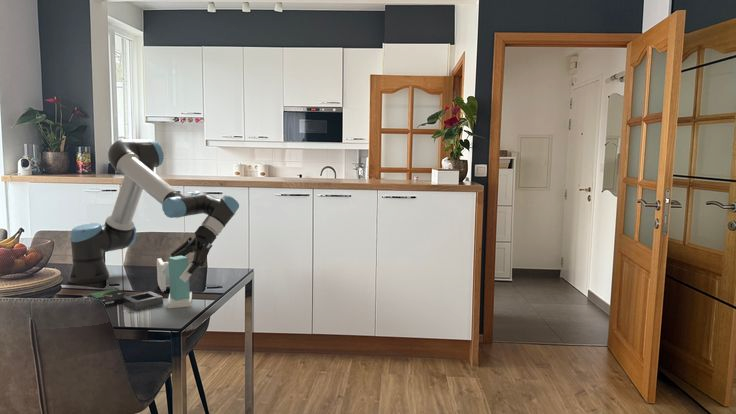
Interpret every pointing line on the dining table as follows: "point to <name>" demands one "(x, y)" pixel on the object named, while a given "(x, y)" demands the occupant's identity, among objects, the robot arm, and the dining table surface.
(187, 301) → the off-white pad
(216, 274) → the dining table surface
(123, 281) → the dining table surface
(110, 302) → the disk drive
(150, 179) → the robot arm
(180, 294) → the teal peg
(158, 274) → the cable organizer
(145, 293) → the socket block
